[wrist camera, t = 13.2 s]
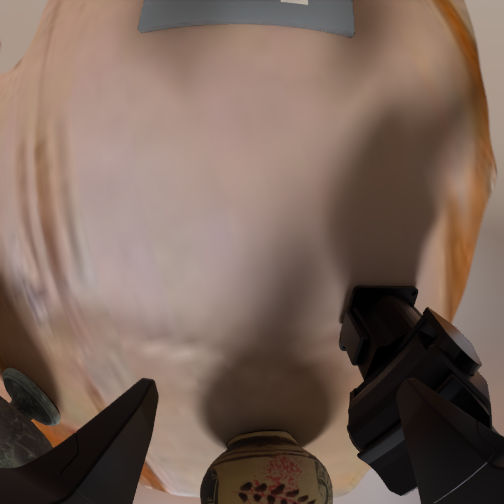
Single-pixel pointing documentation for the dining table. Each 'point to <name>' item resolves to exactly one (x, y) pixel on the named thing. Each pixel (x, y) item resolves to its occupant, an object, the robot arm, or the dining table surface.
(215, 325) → the dining table surface
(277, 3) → the pad
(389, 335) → the robot arm
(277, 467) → the ceramic jug
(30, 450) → the decorative bowl
